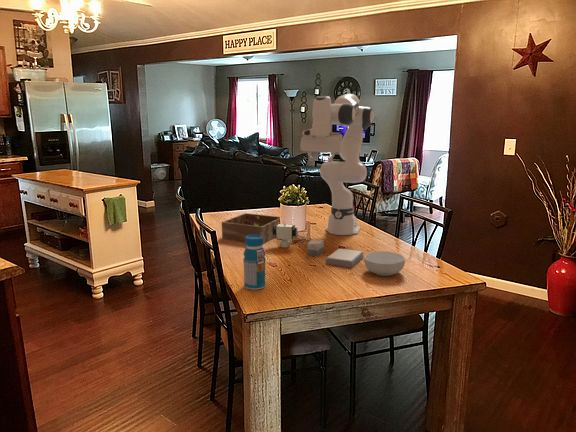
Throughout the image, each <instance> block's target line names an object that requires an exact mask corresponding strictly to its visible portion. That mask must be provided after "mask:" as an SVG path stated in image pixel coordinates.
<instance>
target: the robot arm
mask: <svg viewBox="0 0 576 432" xmlns="http://www.w3.org/2000/svg"><path fill="white" fill-rule="evenodd" d="M311 113H312V115H311V116H312V124H311V128H309V129H305V130H303V131H302V132H301V133H302V134H301V135H302V136H301V139H300V146H299V147H300V149H299V150H300V151H301V152H307V156H308V158H309V162H314V161H315V160H314V159H315V157H314V156H312V153H313V152H314V153H316V152H317V153H330V157H329V158H328V159H327V160H328V161H325V162H323V163H322V164H321V166H320V169H319V174H320V176H321V178H322V180H324V181H325V182H326V184H327V185H328V186H329V189H330V191H331V209H330V211H331V212H330V214H329V216H328V220H327V221H328V222H327V227H326V228H325V231H326V232H328V233H329V234H331V235H335V236H349V235H358V234H359V233H360V231H361V228H362V227H361V226H360V225H358V224H357V223H358V220H357V219H358V218H357V217H356V216H355V214H354V212H355V211H354V209H355V206H353V200H354V198H353V197H354V195H353V192H352V191H351V190H350V189H348V188H346V187H345V185H344V183H347V184H348V183H349V184H357V183H362V182H364V181H365V179H366V178H367V175H368V169H367V167H366V165H365V164H364V163H363V162H362V161H361V160H360V152H361V149H362V144H363V140H364V131H366V130H368V128H369V127H370V126H372V124H373V122H374V119H375V113H374V110H373V109H372V107H370V106H360V99H359V97H358V95H356V94H354V93H344V94H341V95H340V96H338V97H337V98H336V99H335V101H334V103H332V100H331V97H330V96H328V95H319V96H316V97H315V98H314V99H313V103H312V111H311ZM332 125H337V126H339V127H340V126H341V127H348V128H347V129H346V131H345V132H344V135H343V134H342V133H341V132H339V131H338V132H333V131H332ZM337 153H338V154H339V157H340V158H341V159H342V160H343V161H337V160H336V161H335V160H333V159H334V157H335V155H336V154H337Z"/></svg>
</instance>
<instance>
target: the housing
mask: <svg viewBox="0 0 576 432" xmlns="http://www.w3.org/2000/svg"><path fill="white" fill-rule="evenodd" d="M324 242H325V240H323V239H318V238H313V239H312V240H310V241H308V242H307V245H306V246H307V256H310V257H319V256H320V255H322V254H323V253H324V252H325V251H324V250H325V248H324V247H325V246H324V245H325V243H324Z"/></svg>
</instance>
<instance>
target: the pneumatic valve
mask: <svg viewBox="0 0 576 432" xmlns="http://www.w3.org/2000/svg"><path fill="white" fill-rule="evenodd" d="M273 235H275V238H274V239H277V240H279V239H281V240H280V241H279V242H278V243H279V246H280V247H281V248H283V249H284V248H286V249H287V248H289V247H290V246H291V244H292V243H291V240H294V239H295V237H297V236H298V227H296V226H295V224H287V223H286V222H283V224H277V225H276V226H275V227H273Z"/></svg>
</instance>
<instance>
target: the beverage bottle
mask: <svg viewBox="0 0 576 432" xmlns="http://www.w3.org/2000/svg"><path fill="white" fill-rule="evenodd" d="M244 244H245V246H246V247H245V249H244V252H243V256H244V258H243V260H242V261H243V278H244V280H243V281H244V282H243V283H244V288H246V289H247V290H251V291H258V290H262V289H263V288H265V287H266V257H265V256H266V251H265V249H264V247H263V245H264V244H263V237H262V236H261V235H248V236H246V237H245V242H244Z"/></svg>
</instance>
